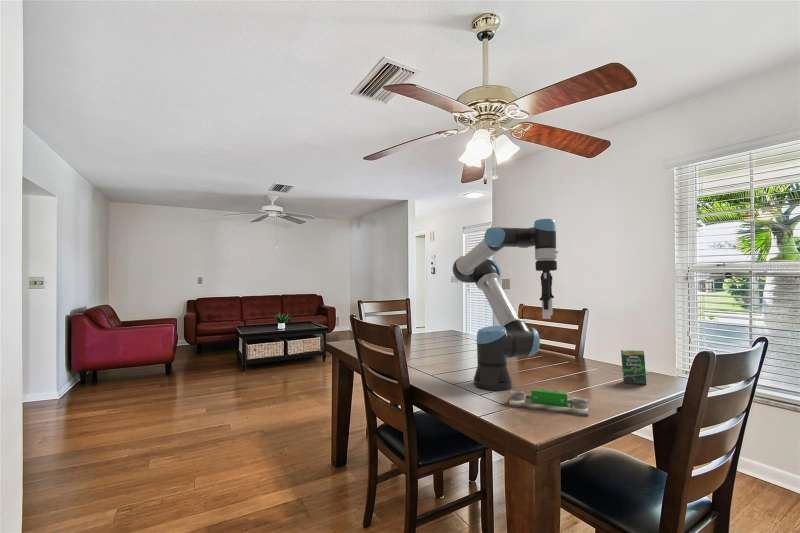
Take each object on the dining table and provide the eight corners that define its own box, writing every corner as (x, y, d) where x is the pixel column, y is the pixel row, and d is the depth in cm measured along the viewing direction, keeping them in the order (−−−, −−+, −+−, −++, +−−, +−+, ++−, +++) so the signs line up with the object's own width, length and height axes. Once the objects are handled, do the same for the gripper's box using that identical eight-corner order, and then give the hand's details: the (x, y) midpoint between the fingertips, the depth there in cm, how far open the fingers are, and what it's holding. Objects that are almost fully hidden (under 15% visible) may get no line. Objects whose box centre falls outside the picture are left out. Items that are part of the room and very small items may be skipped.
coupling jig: (508, 405, 125) (507, 394, 125) (512, 396, 134) (512, 386, 134) (589, 416, 114) (589, 404, 114) (588, 405, 123) (588, 394, 123)
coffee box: (622, 383, 148) (621, 350, 149) (622, 381, 151) (620, 349, 151) (646, 385, 145) (645, 352, 145) (645, 383, 147) (644, 350, 148)
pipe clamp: (567, 405, 122) (567, 391, 122) (567, 408, 119) (567, 394, 119) (532, 400, 127) (532, 387, 127) (531, 404, 124) (531, 390, 124)
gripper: (555, 258, 124) (557, 320, 124) (558, 261, 147) (559, 314, 146) (531, 259, 128) (533, 320, 127) (538, 261, 150) (539, 313, 149)
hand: (547, 317), depth 136 cm, fingers open, 13 cm apart
